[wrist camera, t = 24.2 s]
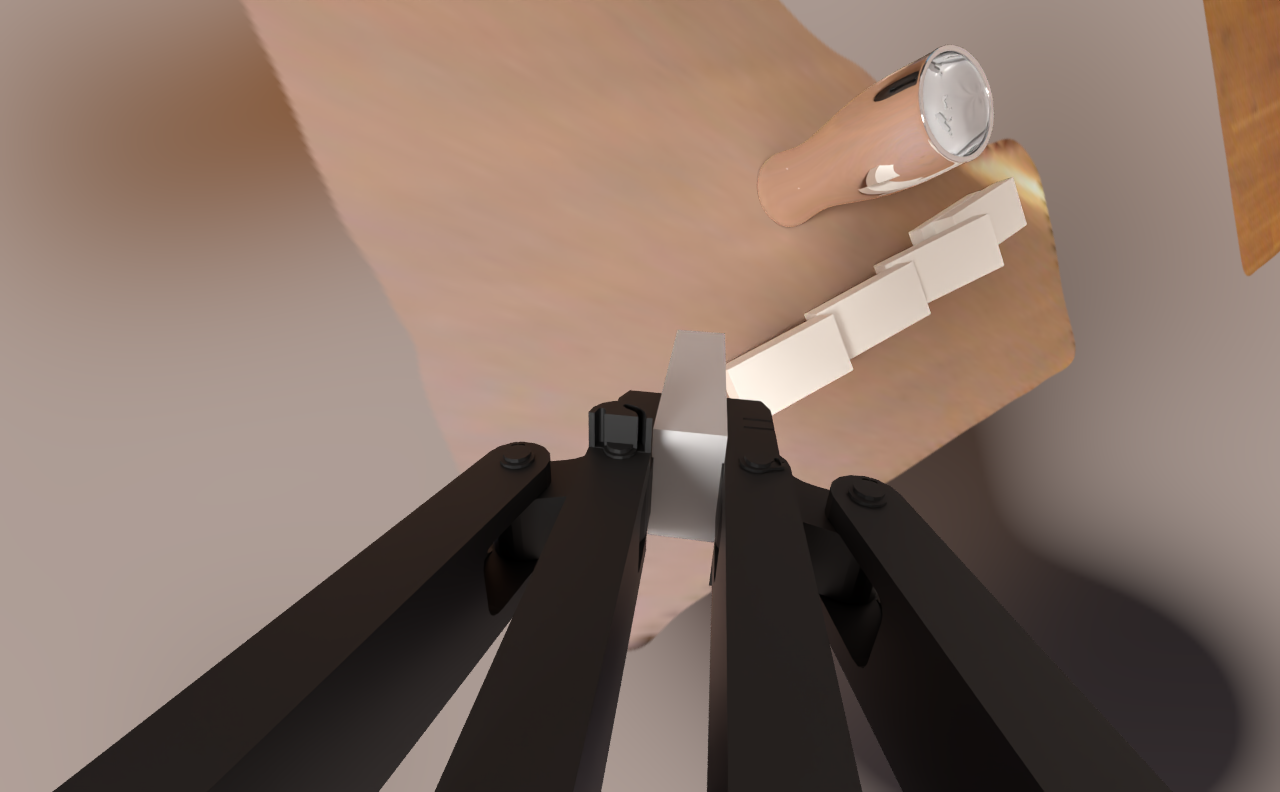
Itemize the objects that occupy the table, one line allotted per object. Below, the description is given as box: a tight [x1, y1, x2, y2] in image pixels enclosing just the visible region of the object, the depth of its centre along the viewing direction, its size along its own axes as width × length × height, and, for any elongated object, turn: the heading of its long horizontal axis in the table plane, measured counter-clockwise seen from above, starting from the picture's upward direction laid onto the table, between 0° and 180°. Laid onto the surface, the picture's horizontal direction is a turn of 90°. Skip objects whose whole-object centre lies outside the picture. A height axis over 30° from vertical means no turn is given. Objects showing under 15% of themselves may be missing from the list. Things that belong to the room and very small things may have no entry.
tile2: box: [804, 261, 931, 359], centre depth 45 cm, size 2×5×10 cm
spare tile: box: [726, 314, 853, 415], centre depth 41 cm, size 2×5×10 cm
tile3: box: [874, 213, 1004, 303], centre depth 47 cm, size 2×5×10 cm
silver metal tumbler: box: [757, 45, 994, 227], centre depth 36 cm, size 7×7×15 cm
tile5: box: [908, 190, 981, 246], centre depth 51 cm, size 2×5×10 cm
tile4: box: [932, 177, 1027, 245], centre depth 50 cm, size 2×5×10 cm
